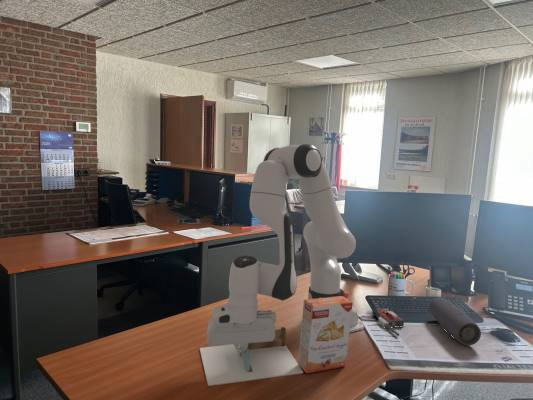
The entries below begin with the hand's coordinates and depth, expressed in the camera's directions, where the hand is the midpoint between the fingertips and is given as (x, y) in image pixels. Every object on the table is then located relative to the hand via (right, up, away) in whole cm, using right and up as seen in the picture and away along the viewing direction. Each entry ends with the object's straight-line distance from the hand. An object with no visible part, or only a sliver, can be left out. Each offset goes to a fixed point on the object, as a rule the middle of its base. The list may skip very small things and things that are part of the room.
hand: (240, 356), depth 115 cm
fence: (+7, -2, +12) cm, 14 cm away
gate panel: (+1, -2, +4) cm, 5 cm away
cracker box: (+25, -4, +2) cm, 25 cm away
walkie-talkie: (+56, -2, +33) cm, 65 cm away
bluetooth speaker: (+77, -3, +28) cm, 82 cm away
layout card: (+2, -3, +4) cm, 6 cm away
